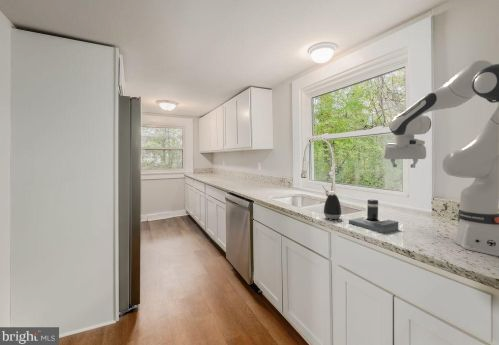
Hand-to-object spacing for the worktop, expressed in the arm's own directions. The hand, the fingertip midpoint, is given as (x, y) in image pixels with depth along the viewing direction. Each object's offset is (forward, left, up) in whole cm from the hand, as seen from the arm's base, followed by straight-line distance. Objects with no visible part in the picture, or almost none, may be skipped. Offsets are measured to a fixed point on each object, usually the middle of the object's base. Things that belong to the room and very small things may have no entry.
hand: (403, 167), depth 128 cm
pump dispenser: (+26, +26, -31) cm, 48 cm away
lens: (+4, +20, -29) cm, 35 cm away
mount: (+4, +20, -31) cm, 37 cm away
